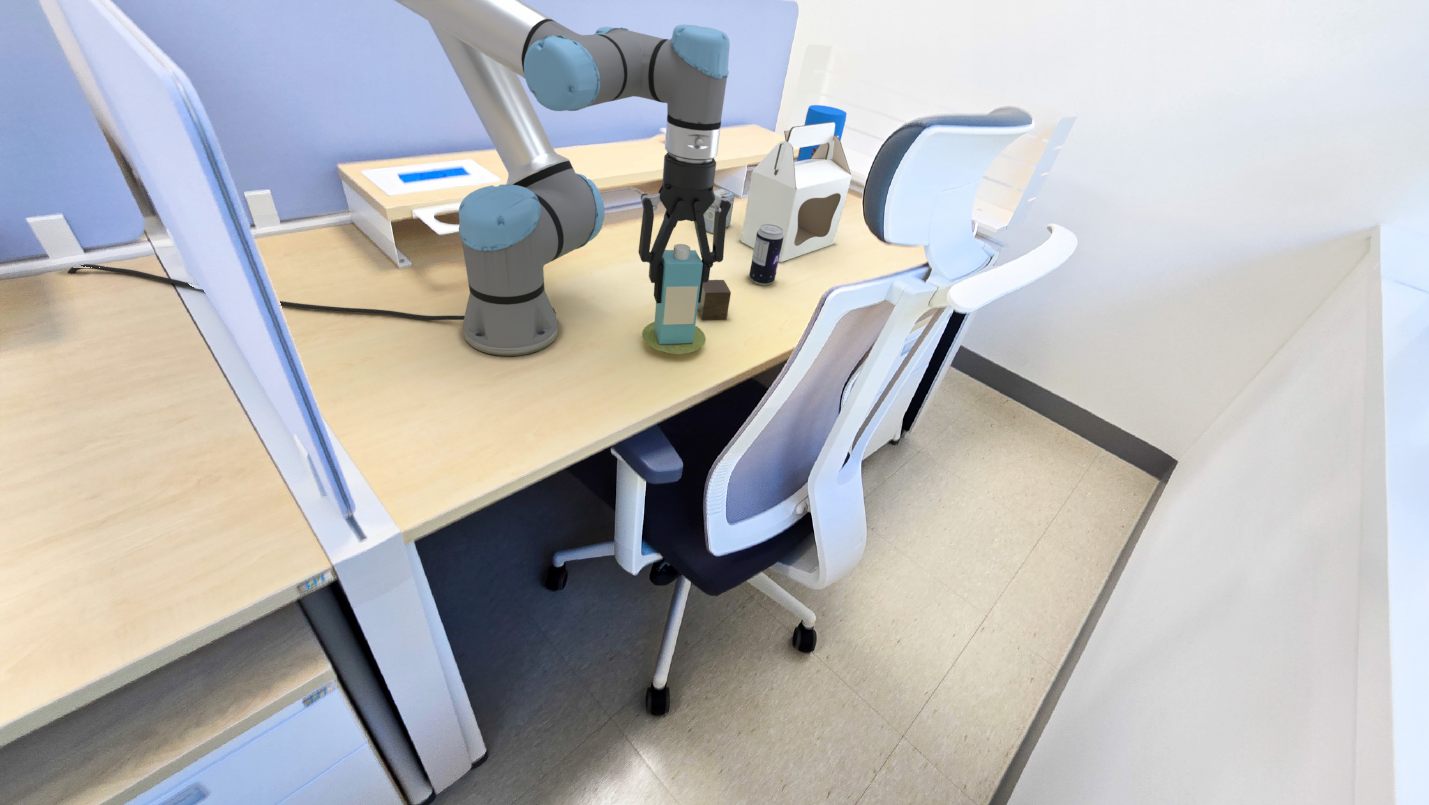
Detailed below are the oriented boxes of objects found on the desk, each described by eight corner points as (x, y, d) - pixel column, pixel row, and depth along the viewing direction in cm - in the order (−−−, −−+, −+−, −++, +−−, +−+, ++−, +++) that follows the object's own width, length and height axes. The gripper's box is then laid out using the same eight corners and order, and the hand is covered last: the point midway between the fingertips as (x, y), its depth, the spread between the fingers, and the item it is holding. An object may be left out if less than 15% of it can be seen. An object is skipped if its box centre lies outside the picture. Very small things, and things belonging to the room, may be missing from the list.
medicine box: (716, 221, 151) (721, 187, 146) (730, 226, 149) (735, 193, 144) (698, 228, 146) (702, 194, 140) (712, 234, 144) (717, 199, 138)
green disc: (629, 336, 103) (630, 327, 102) (681, 322, 109) (682, 313, 108) (664, 369, 96) (665, 359, 95) (716, 352, 102) (718, 343, 101)
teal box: (655, 348, 102) (671, 329, 88) (649, 269, 103) (664, 239, 89) (688, 347, 103) (709, 328, 90) (681, 269, 105) (701, 239, 91)
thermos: (788, 202, 169) (807, 110, 154) (790, 191, 178) (808, 102, 162) (824, 209, 169) (847, 117, 153) (825, 197, 177) (847, 109, 162)
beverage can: (772, 289, 124) (783, 236, 117) (746, 283, 125) (756, 230, 117) (775, 278, 129) (786, 226, 121) (750, 272, 129) (760, 221, 122)
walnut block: (701, 320, 110) (705, 292, 107) (695, 307, 114) (699, 279, 110) (726, 319, 112) (731, 292, 108) (719, 306, 115) (724, 279, 112)
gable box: (795, 225, 155) (820, 113, 138) (834, 244, 149) (865, 128, 132) (739, 242, 142) (759, 119, 125) (779, 263, 135) (806, 137, 118)
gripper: (628, 160, 77) (623, 311, 91) (761, 167, 82) (737, 309, 96) (620, 143, 82) (617, 288, 97) (745, 151, 88) (724, 287, 102)
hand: (677, 298), depth 96 cm, fingers closed on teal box, 6 cm apart
